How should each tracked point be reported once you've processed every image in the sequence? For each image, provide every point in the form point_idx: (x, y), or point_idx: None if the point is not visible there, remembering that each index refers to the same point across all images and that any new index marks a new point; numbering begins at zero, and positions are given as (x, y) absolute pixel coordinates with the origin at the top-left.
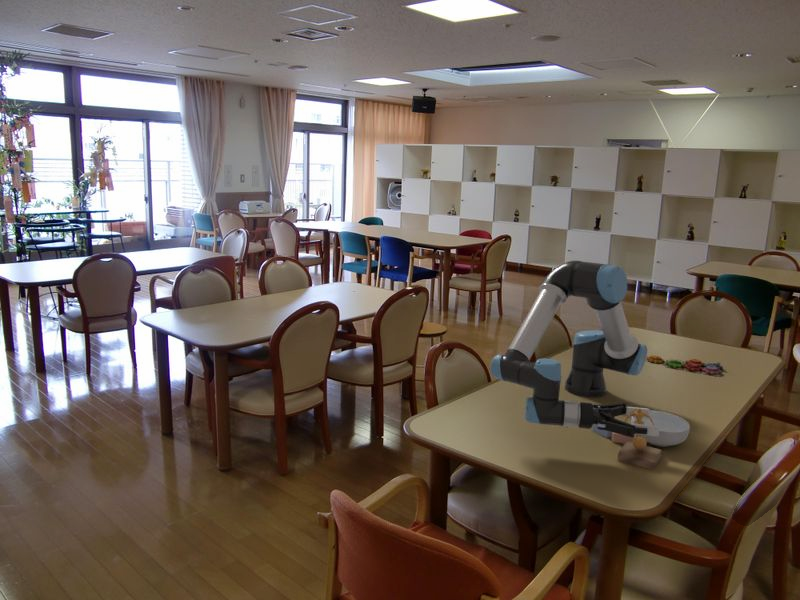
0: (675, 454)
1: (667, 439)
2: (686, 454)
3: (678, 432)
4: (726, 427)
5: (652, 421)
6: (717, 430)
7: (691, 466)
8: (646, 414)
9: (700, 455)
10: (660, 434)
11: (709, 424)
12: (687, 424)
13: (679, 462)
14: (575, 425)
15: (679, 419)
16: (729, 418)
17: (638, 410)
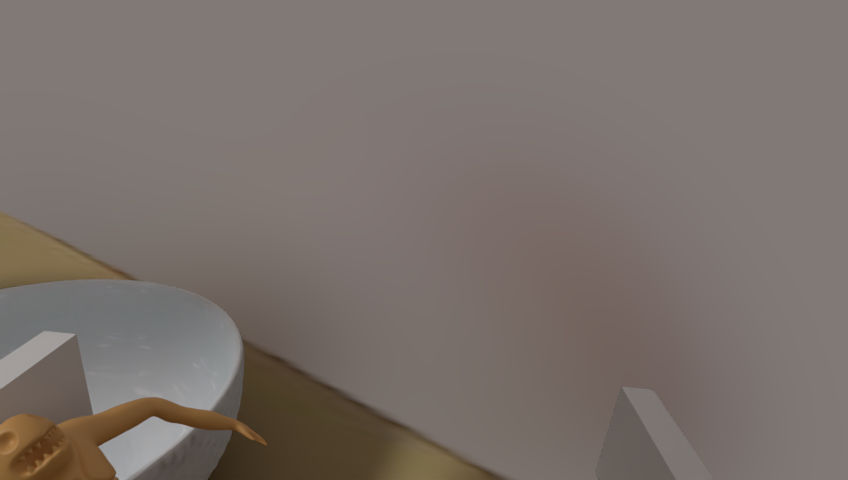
0: (269, 460)
1: (229, 433)
2: (274, 412)
3: (242, 346)
4: (78, 249)
5: (223, 417)
6: (86, 269)
7: (412, 434)
8: (112, 410)
9: (290, 369)
10: (201, 449)
11: (21, 269)
12: (143, 288)
13: (373, 472)
14: None
15: (50, 295)
16: (20, 228)
17: (24, 465)
